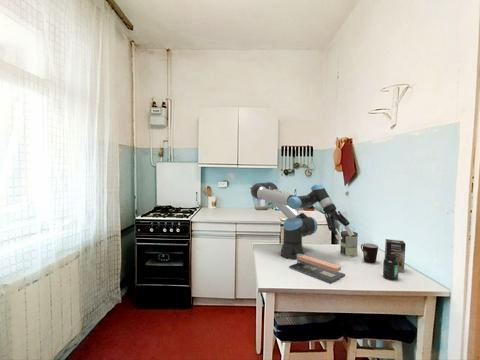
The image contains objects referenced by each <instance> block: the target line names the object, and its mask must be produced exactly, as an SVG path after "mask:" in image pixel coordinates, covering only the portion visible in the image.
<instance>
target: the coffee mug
mask: <svg viewBox="0 0 480 360" xmlns="http://www.w3.org/2000/svg"><path fill="white" fill-rule="evenodd" d="M360 249H361V251H362V252H363V262H364V263H366V264H370V265H373V264H376V263H377V257H378V256H377V255H378V251H379V245H377V244H374V243H371V242H370V243H369V242H365V243H362V244H361V245H360Z"/></svg>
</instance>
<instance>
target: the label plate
mask: <svg viewBox="0 0 480 360" xmlns="http://www.w3.org/2000/svg"><path fill="white" fill-rule="evenodd" d="M288 268H289V269H290V270H294V271H296V272H299V273H302V274H304V275H306V276H309V277H312V278H314V279H317V280H320V281H322V282H325V283H326V284H333V283H335V282H337V281H339V280H341V279H343V278H344V277H345V278H346V274H345V273H343V272H341V271H339V272H337V273H336V272H333V271H330V270H327V269H324V268H321V267H318V266H315V265H312V264H309V263H306V262H303V261H300V260H297V259H296V263H294V264H291V265H289V266H288Z"/></svg>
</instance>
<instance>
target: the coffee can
mask: <svg viewBox="0 0 480 360" xmlns="http://www.w3.org/2000/svg"><path fill="white" fill-rule="evenodd" d="M352 232H353V234H354V235H352V236H351V237H350V236H349V234H348V232H347V231H346V230H342V231H340V235H341V237H342V239H341V240H340V255H342V256H345V257H348V258H349V257H352V258H353V257H354V258H355V257H357V256H358V241H359V240H358V236H359V233H358V232H356V231H353V230H352Z"/></svg>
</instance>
